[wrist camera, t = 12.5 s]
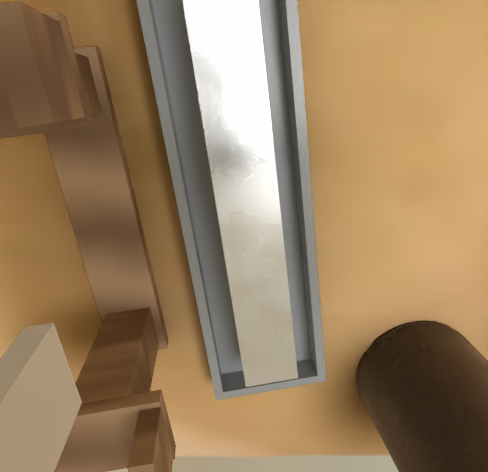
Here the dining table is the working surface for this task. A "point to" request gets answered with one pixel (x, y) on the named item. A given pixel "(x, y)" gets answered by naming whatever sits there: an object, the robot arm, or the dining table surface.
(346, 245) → the dining table surface
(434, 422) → the pillar candle
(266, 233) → the rail
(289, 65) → the tray
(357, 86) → the dining table surface
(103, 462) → the rack
